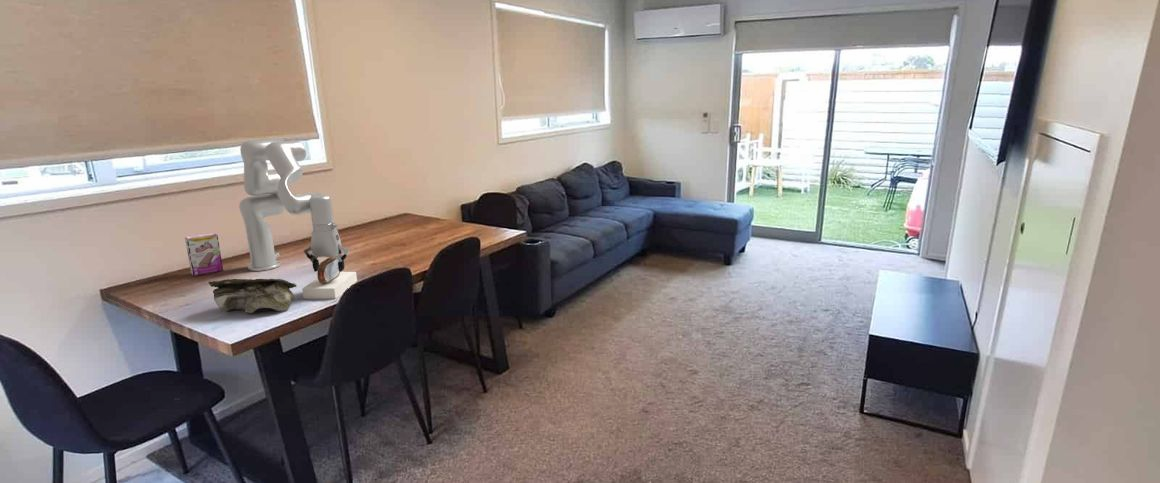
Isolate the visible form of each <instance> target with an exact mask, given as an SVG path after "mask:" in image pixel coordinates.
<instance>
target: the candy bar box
mask: <svg viewBox="0 0 1160 483" xmlns="http://www.w3.org/2000/svg"><path fill="white" fill-rule="evenodd" d="M184 240H185V245H186V246H185V247H186V252H187V257H188V263H189V268H190V273H191V275H192V276H193V277H196V276H197V277H198V276H202V275H208V274H213V273H220V272H223V271H224V267H223V261H222V255H221V247H220V242H219V237H218V234H217V233H215V232H214V233H213V232H212V233H205V234H197V235H189V236H185V237H184Z"/></svg>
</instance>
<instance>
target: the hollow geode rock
mask: <svg viewBox="0 0 1160 483" xmlns="http://www.w3.org/2000/svg"><path fill="white" fill-rule="evenodd" d="M207 283H208V284H209V286H210V287H212V288H214V290H212V293H213V300H214V302H215V304H216V306H217V307H218V308H219V309H220V310H223V311H226V312H229V311H234V310H244V311H245V313H254V312H255V311H257V310H258V309H264V308H265V309H272V310H274V311H277V312H285V311H288V310H289V309H290V307H291V306H290V305H291V302H292V299H293V297H294V293H293V292H292V291H291V289H293V288H297V286H298V285H297V284H296V283H294V282H293V283H292V282H290V281H288V280H286V279H282V278H256V279H252V278H251V279H249V278H248V279H247V278H231V279H229V278H227V279H222V280H217V281H216V280H213V281H207Z"/></svg>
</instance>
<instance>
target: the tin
mask: <svg viewBox="0 0 1160 483" xmlns="http://www.w3.org/2000/svg"><path fill="white" fill-rule="evenodd" d="M338 262H339V260H338V259H337V258H336V257H327V258H326V259H324V260H323V261H321V262H319V267H318V271H316V272H317V274H316V275H317V278H318V281H319V282H320V283H329V282H331V281H332V280H334V279H335V278H336V277H338V276H339V274H340V272H339V269H338Z"/></svg>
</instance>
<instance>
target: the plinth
mask: <svg viewBox="0 0 1160 483" xmlns="http://www.w3.org/2000/svg"><path fill="white" fill-rule="evenodd" d="M357 282H358V277H357V272H356V271H341V272H340V274H339V276H338V277H336V278H335V279H334V280H332V281H331V282H329V283H320V282H319V281H318V277H317V278H315V279H314V280H312V281H311V282H309V283H307V285H305V286H303V287H302V296H303V299H304V300H306V299H308V300H309V299H316V300H318V299H319V300H320V299H328V300H329V299H333V300H334V299H336V300H337V298H338V297H340V296H341V295H342V294H344V292H346V291H347V290H348V289H350V288H351V287H352V286H353V285H354V284H356V283H357ZM352 284H353V285H352ZM351 285H352V286H351ZM350 286H351V287H350ZM347 288H348V289H347ZM346 289H347V290H346ZM345 290H346V291H345Z"/></svg>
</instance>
